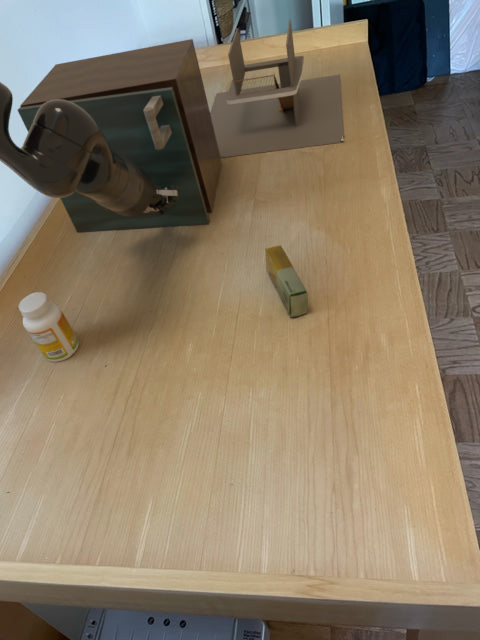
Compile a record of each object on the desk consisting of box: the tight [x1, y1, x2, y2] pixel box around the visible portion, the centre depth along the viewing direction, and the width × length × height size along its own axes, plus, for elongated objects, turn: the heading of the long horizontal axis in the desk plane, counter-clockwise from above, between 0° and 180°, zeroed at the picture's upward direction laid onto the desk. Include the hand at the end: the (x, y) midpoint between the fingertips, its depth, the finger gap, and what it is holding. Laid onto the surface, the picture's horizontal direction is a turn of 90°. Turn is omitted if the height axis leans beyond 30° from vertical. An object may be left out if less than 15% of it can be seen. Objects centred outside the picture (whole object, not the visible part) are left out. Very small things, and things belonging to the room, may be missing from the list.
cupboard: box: [19, 38, 223, 214], centre depth 99 cm, size 18×26×24 cm
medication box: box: [264, 244, 309, 318], centre depth 78 cm, size 12×3×4 cm, turn 15°
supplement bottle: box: [18, 291, 80, 363], centre depth 76 cm, size 5×5×10 cm
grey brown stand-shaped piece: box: [210, 18, 345, 159], centre depth 117 cm, size 31×35×17 cm
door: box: [17, 87, 210, 233], centre depth 89 cm, size 6×26×24 cm, turn 80°
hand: (159, 209), depth 94 cm, fingers closed
